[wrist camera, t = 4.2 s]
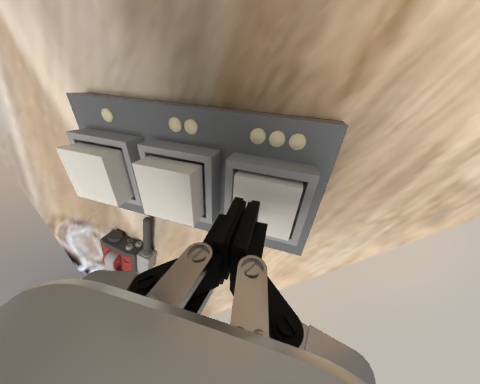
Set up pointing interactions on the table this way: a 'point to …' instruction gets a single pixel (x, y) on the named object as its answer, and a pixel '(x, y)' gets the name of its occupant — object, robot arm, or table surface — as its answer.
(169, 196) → the button
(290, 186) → the button
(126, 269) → the walkie-talkie
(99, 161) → the button
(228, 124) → the button panel
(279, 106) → the table surface
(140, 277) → the robot arm
